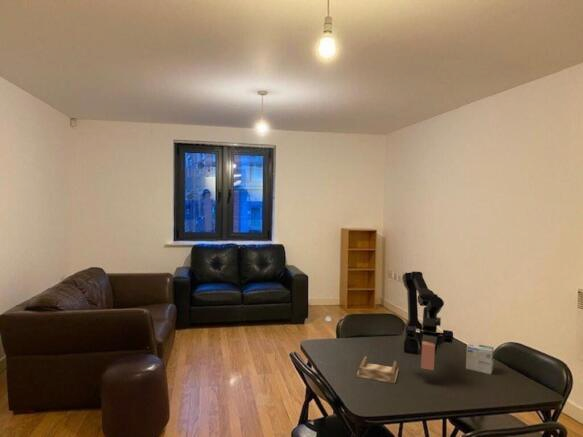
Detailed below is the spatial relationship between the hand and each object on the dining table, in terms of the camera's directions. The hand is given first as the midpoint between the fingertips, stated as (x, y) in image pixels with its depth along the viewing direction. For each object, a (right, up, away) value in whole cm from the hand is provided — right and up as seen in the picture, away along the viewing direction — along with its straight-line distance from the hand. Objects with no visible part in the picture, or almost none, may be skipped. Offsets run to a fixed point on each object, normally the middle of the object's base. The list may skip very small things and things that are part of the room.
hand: (428, 352), depth 165 cm
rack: (-19, -12, +9) cm, 24 cm away
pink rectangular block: (0, -7, +2) cm, 7 cm away
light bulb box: (+29, -13, +17) cm, 36 cm away
